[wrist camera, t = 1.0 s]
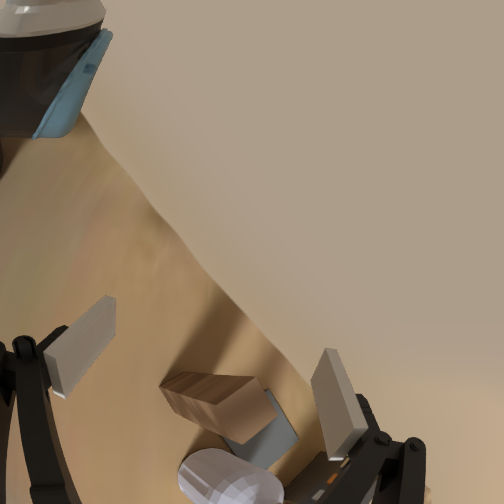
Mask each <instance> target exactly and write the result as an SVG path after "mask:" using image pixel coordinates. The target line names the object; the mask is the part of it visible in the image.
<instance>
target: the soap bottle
mask: <svg viewBox="0 0 504 504" xmlns="http://www.w3.org/2000/svg"><path fill="white" fill-rule="evenodd" d="M178 484H179V486H180V488H181V490H182V492H183V493H184V494H185V495H186V496H187V497H188V498H189V499H190V500H191V501H192V502H193V503H194V504H282V503H283V499H284V490H283V487H282V483H281V482H280V481H279V480H278V478H277V477H276V476H275V475H274V474H273V473H272V472H270V471H268V470H265V469H263V468H261V467H258V466H256V465H254V464H251V463H249V462H247V461H245V460H243V459H241V458H238V457H236V456H234V455H232V454H230V453H228V452H226V451H224V450H222V449H216V448H208V449H202V450H199V451H197V452H195V453H193V454H191V455H189V456H188V457H187V458H186V459H185V460H184V461H183V462H182V464H181V467H180V469H179V471H178Z"/></svg>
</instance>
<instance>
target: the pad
mask: <svg viewBox="0 0 504 504" xmlns="http://www.w3.org/2000/svg"><path fill="white" fill-rule="evenodd" d="M265 393H266V395H267V396H268V398H269V400H270V402H271V403H272V405H273V407H274V408H275V410H276V412H277V413H278V416H277V417H275V418H274V419H273V420H272V421H271V422H270V423H268V424H267V425H266V426H265V427H264V428H263V429H261V430H260V431H259V432H258V433H257V434H255V435H254V436H253V437H252V438H250V439H249V440H248V441H247V442H245V443H244V444H243V445H242V444H240V443H237V442H235V441H233V440H230V439H228V438H226V437H223V436H222V438H223V439H224V440H225V442H226V443H227V445H228V446H229V447H230V449H231V450H232V451H233V453H234V454H235V455H236V457H238V458H241V459H243V460H245V461H247V462H249V463H251V464H254V465H256V466H258V467H261V468H263V469H265V470H267V469H268V468H269V467H270V466H271V465H272V464H273V463H275V462H276V461H277V460H278V459H279V458H280V457H281V456H282V455H283V454H284V453H285V452H287V451H288V450H289V449H290V448H291V447H292V446H293V445H294V444H295V443H296V442H297V441H298V440H299V438H298V437H297V435H296V434H295V432H294V430H293V429H292V427H291V425H290V424H289V422H288V420H287V419H286V417H285V415H284V414H283V412H282V410H281V409H280V407H279V405H278V404H277V402H276V400H275V398H274V397H273V395H272V393H271V392H270V390H269V389H267V390H266V391H265Z"/></svg>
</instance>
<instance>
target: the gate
mask: <svg viewBox="0 0 504 504" xmlns="http://www.w3.org/2000/svg"><path fill="white" fill-rule="evenodd" d="M159 388H160V390H161V391H162V393H163V394H164V396H165V398H166V399H167V401H168V402H169V404H170V406H171V407H172V409H173V410H174V412H175V413H177V414H178V415H180V416H182V417H184V418H186V419H188V420H190V421H192V422H194V423H196V424H198V425H200V426H202V427H204V428H206V429H208V430H210V431H212V432H214V433H217V434H219V435H221V436H223V437H226V438H228V439H230V440H233V441H235V442H237V443H240V444H242V445H243V444H244V443H245V442H247V441H248V440H249V439H250V438H252V437H253V436H254V435H255V434H257V433H258V432H259V431H260V430H261V429H263V428H264V427H265V426H266V425H267V424H268V423H270V422H271V421H272V420H273V419H274V418H275V417H277V416H278V413H277V412H276V410H275V408H274V407H273V405H272V403H271V402H270V400H269V398H268V396H267V395H266V393H265V391H264V390H263V388H262V386H261V384H260V383H259V381H258V379H257V377H252V376H229V375H214V374H202V373H191V372H183V373H182V374H180V375H178V376H176V377H175V378H173V379H171V380H169V381H168V382H166V383H164V384H162V385H160V386H159ZM282 504H293V503H290V502H288V501H285V500H283V503H282Z"/></svg>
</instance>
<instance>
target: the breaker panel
mask: <svg viewBox="0 0 504 504" xmlns="http://www.w3.org/2000/svg"><path fill="white" fill-rule="evenodd" d="M348 460H349V457H348V456H345V457H344V459H343V460H328V455H327V452H323V451H321V452H320V453H319V454H318V455H317V456H316V457H315V458H314V460H313V461H312V462H311V463H310V464H309V465H308V466H307V467H306V468H305V469H304V470H303V471H302V472H301V473H300V474H299V475H298V476H297V477H296V478H295V479H294V480H293V481H292V482H291V483H290V484H289V485H287V486H286V487H285V488H284V489H283V490H284V499H283V500H285V501H288V502H290V503H293V504H314V503H315V502H316V501H317V500H318V499H319V498H320V496H321V495H322V494H323V493H324V492H325V490H326V489H327V488H328V487H329V485H330V484H331V483H332V481H333V480H334V479H335V478H336V476H337V475H338V474H339V472H340V471H341V470H340V469H341V468H342V467H343V466H344V465H345V464H346V463H347V461H348ZM377 478H378V475H377V476H376V478H375V480H374V482H373V483H372V485H371V487H370V489H369V490H368V492H367V494H366V495H365V497H364V499H363V500H362V502H361V503H360V504H369V502H370V501H371V500H372V498H373V496H374V491H375V487H376V483H377Z"/></svg>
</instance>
